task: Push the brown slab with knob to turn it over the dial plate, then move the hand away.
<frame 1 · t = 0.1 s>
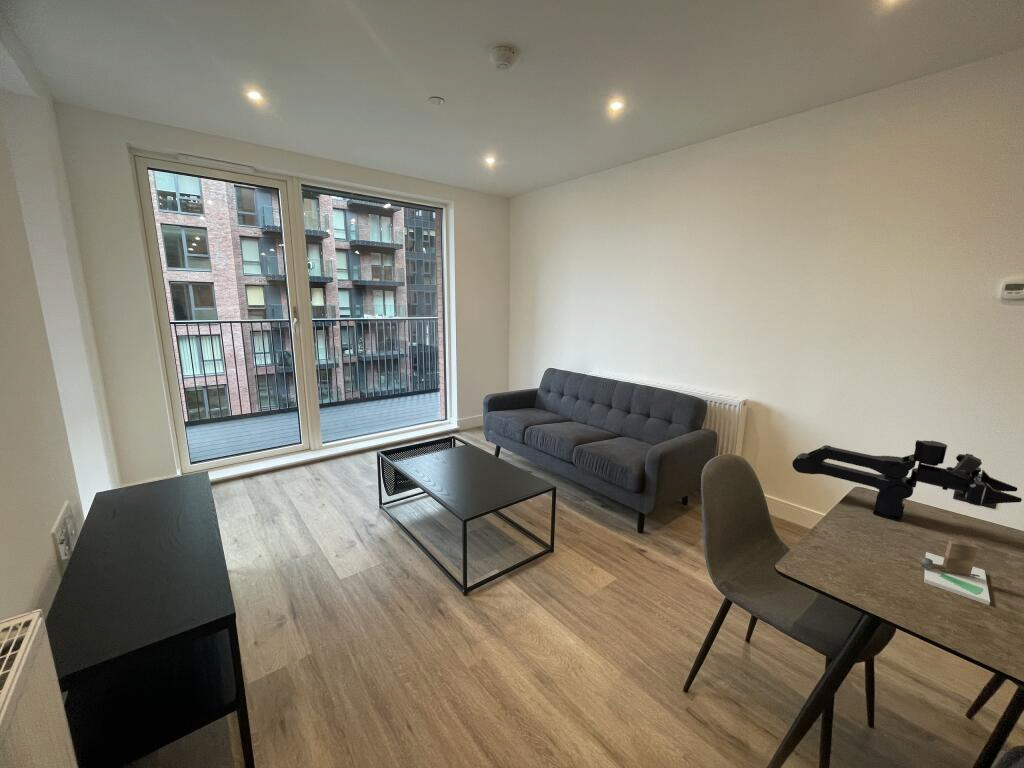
hand: (1019, 494, 115), 16 cm above the table, tool horizontal, fingers open, 9 cm apart
brown slab with knob: (953, 557, 105), point 5 cm above the table, hinge at 0.0°
dial plate: (954, 578, 105), on the table
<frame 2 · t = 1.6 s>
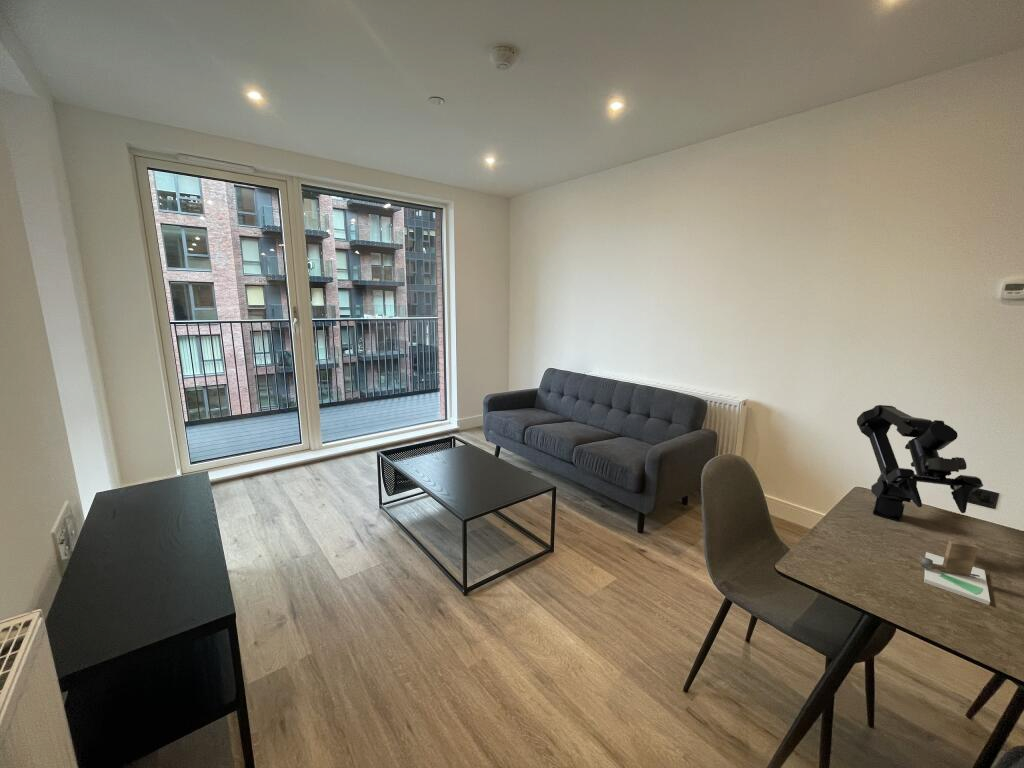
hand: (941, 509, 112), 14 cm above the table, tool tilted 45°, fingers open, 9 cm apart
nothing on the table moved.
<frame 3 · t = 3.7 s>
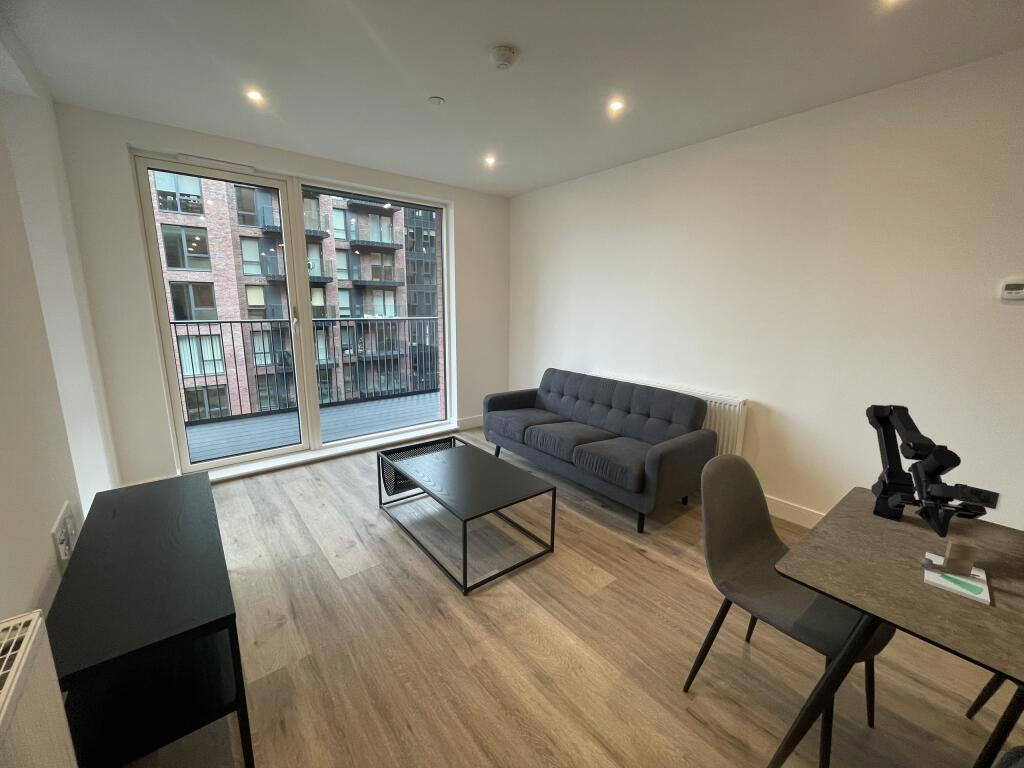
hand: (943, 537, 109), 8 cm above the table, tool tilted 45°, fingers closed
nothing on the table moved.
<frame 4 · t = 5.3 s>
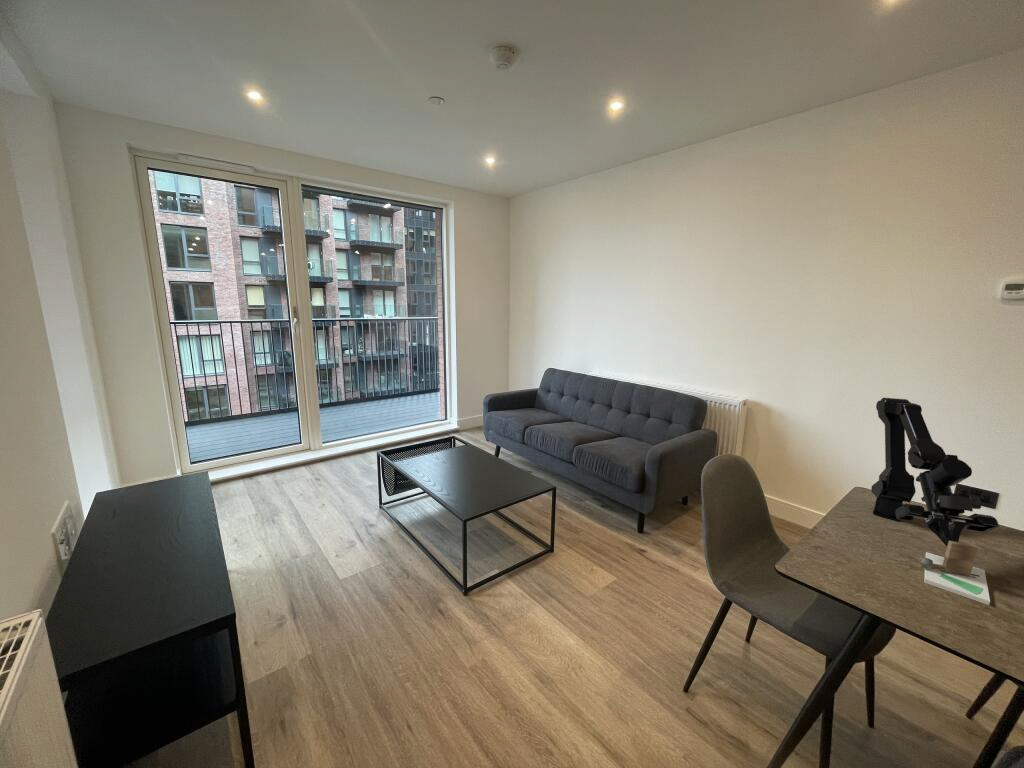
hand: (953, 550, 105), 7 cm above the table, tool tilted 45°, fingers closed, pressing on brown slab with knob
brown slab with knob: (953, 557, 105), point 6 cm above the table, hinge at 0.1°, touching gripper
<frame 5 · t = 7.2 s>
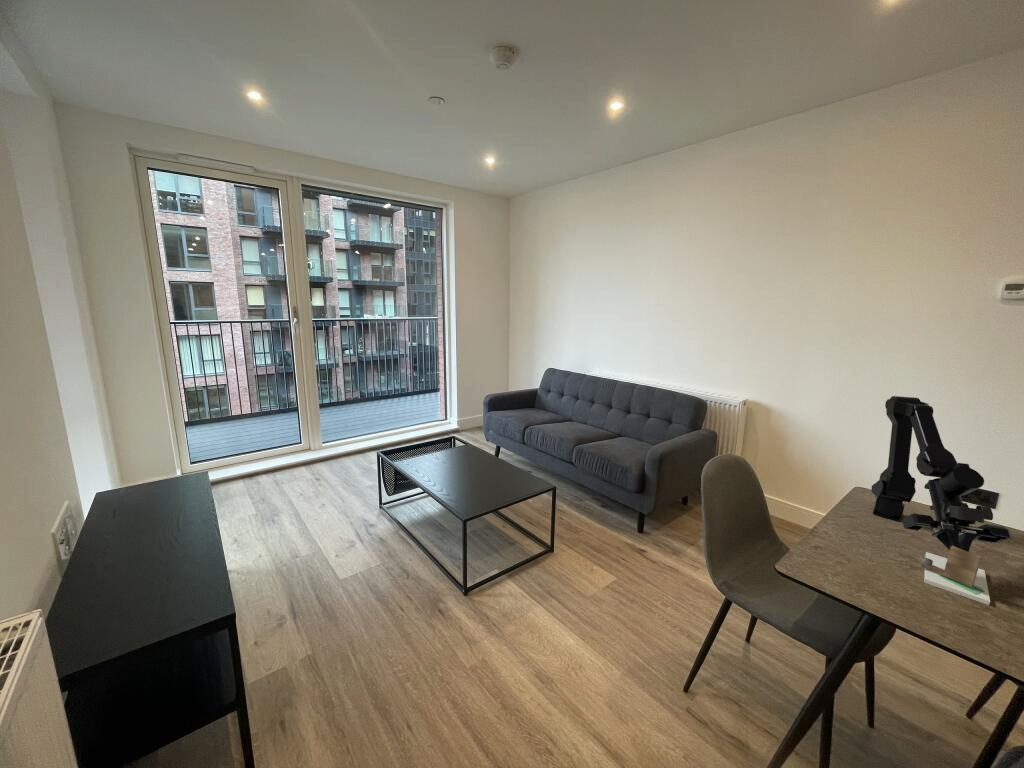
hand: (963, 563, 102), 6 cm above the table, tool tilted 45°, fingers closed
brown slab with knob: (954, 563, 102), point 6 cm above the table, hinge at 43.2°, touching gripper
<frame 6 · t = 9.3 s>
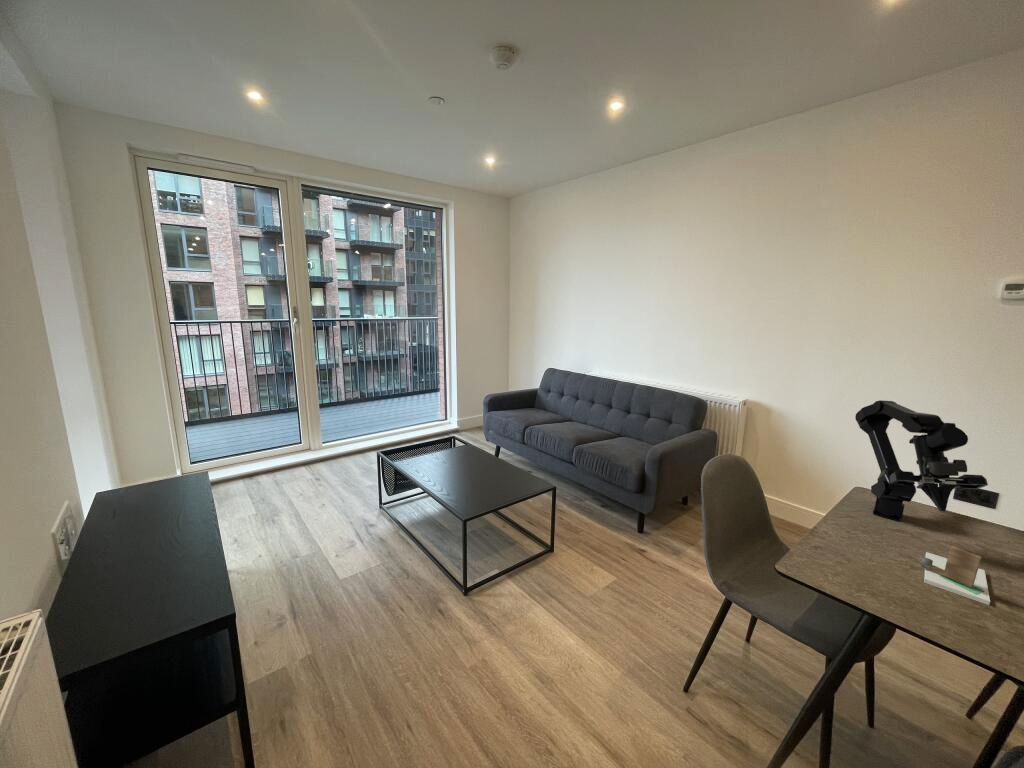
hand: (942, 511, 113), 13 cm above the table, tool tilted 35°, fingers closed
brown slab with knob: (954, 563, 102), point 6 cm above the table, hinge at 43.2°
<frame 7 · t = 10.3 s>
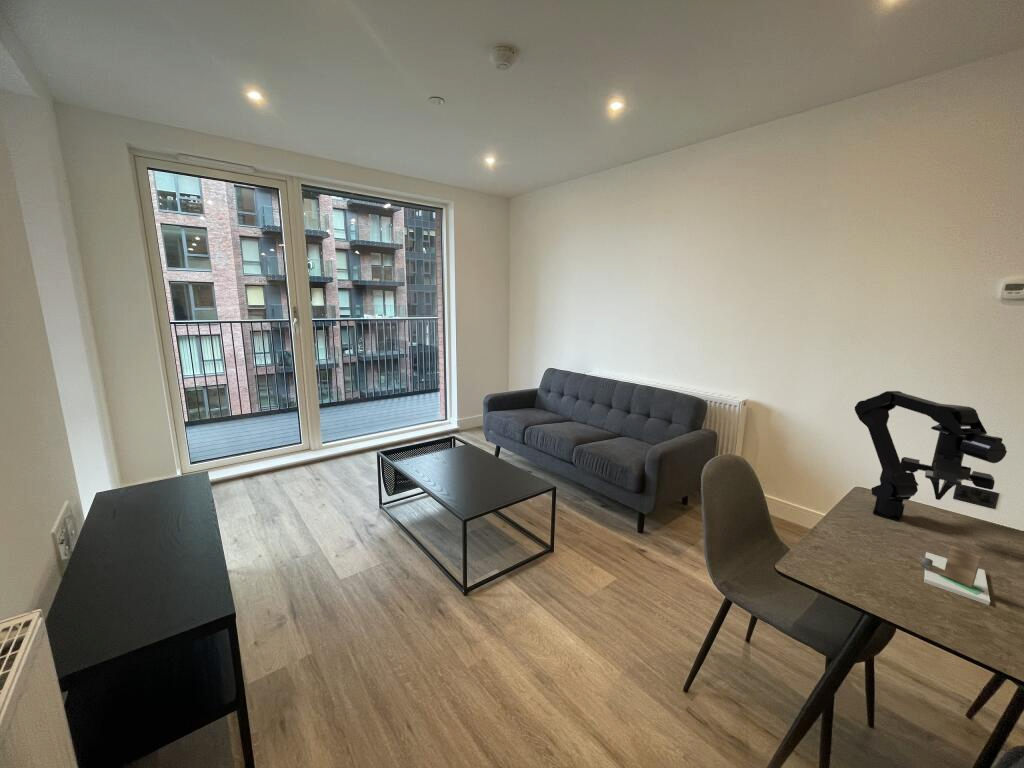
hand: (937, 499, 121), 12 cm above the table, tool pointing down, fingers closed
nothing on the table moved.
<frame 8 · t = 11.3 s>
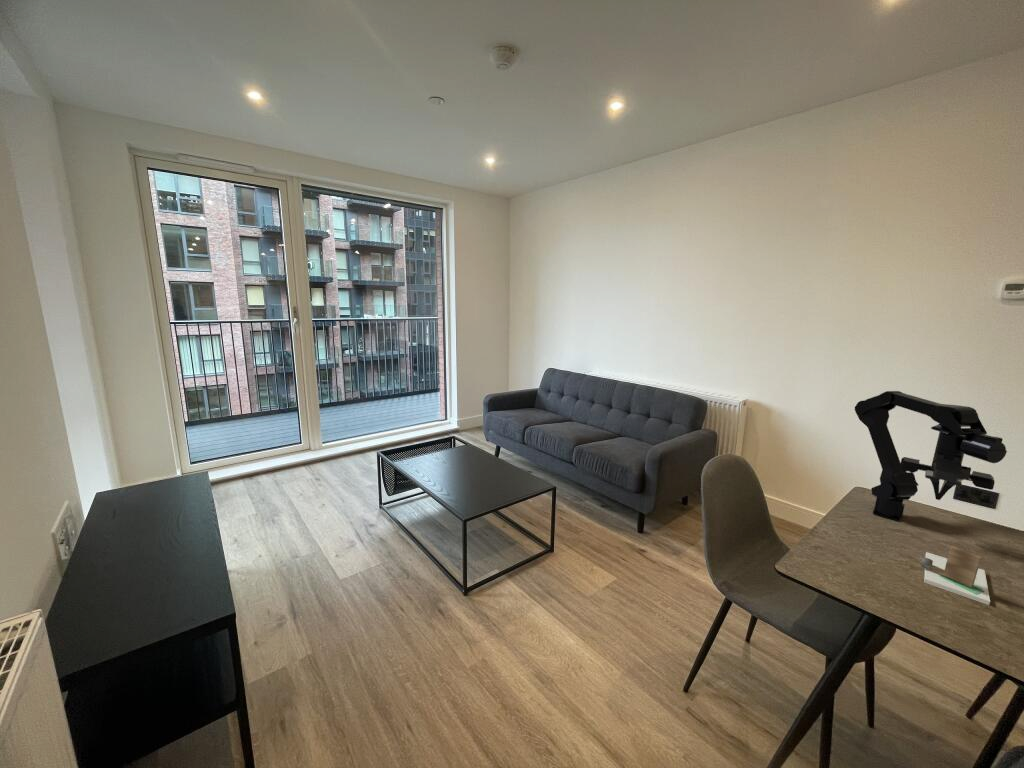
hand: (937, 499, 121), 12 cm above the table, tool pointing down, fingers closed
nothing on the table moved.
at the end: brown slab with knob at +43° (first picture: +0°) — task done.
